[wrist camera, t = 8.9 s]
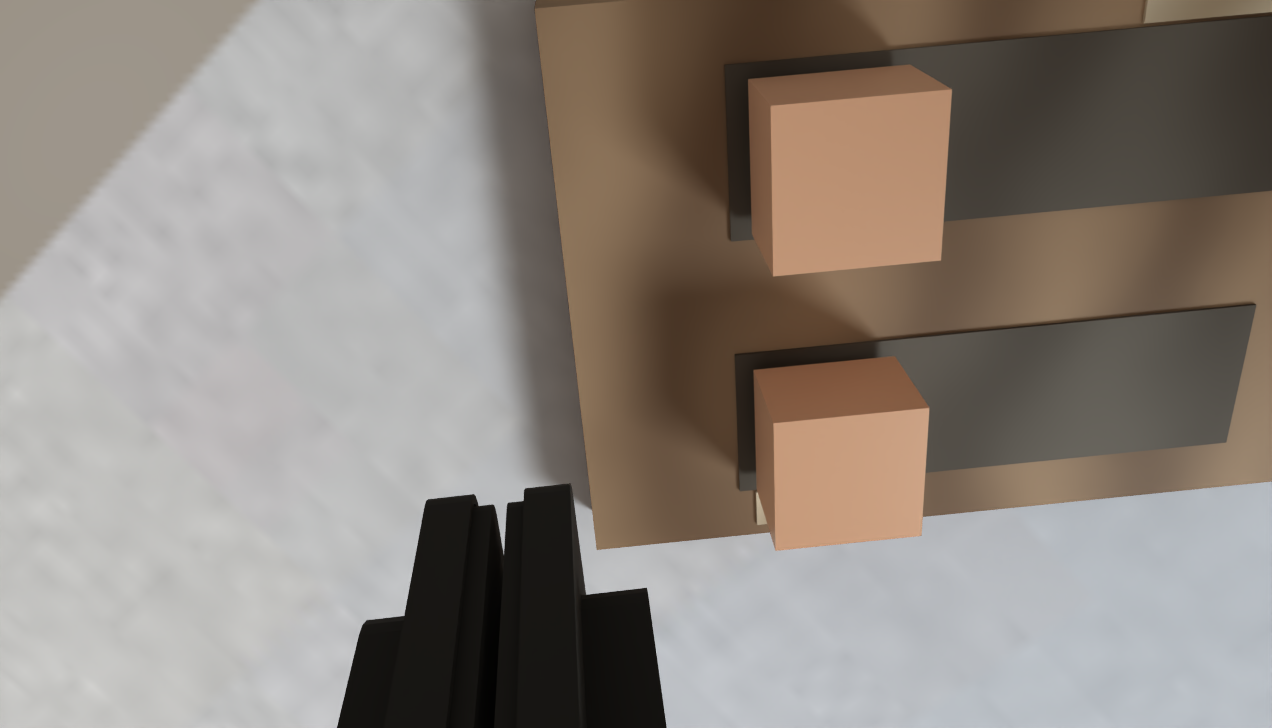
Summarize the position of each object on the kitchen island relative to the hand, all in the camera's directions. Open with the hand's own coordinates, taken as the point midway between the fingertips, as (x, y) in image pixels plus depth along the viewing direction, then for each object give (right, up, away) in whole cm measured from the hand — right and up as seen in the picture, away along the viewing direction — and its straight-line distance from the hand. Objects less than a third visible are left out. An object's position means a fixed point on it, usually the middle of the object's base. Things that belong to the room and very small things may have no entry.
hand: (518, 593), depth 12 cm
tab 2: (+7, +1, +17) cm, 19 cm away
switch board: (+10, +6, +18) cm, 22 cm away
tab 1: (+6, +8, +14) cm, 17 cm away
